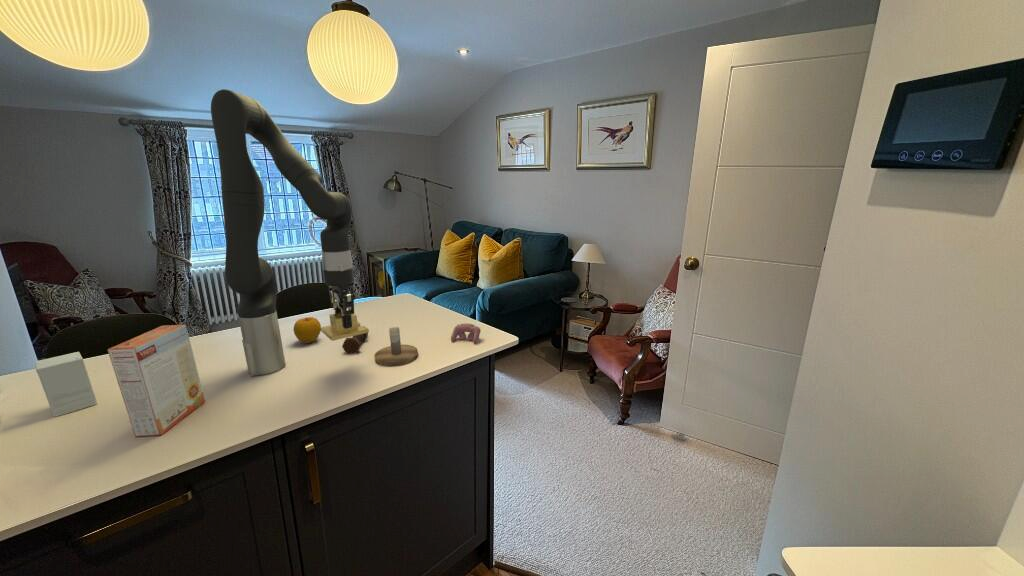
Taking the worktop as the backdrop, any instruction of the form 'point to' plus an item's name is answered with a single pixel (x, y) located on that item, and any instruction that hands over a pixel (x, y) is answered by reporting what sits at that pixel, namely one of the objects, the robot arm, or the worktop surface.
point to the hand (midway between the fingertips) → (344, 324)
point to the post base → (396, 359)
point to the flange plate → (342, 328)
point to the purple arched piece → (465, 327)
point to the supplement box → (66, 383)
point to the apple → (307, 329)
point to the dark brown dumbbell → (354, 343)
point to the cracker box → (157, 379)
